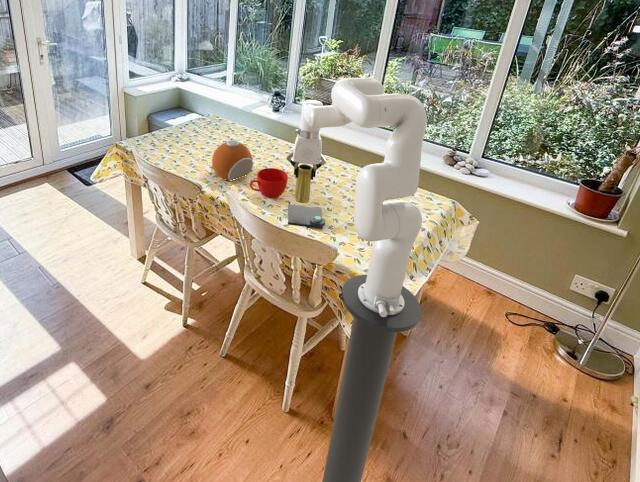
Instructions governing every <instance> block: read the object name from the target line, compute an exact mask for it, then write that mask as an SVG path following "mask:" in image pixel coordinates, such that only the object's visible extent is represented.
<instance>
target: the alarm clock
mask: <svg viewBox="0 0 640 482" xmlns="http://www.w3.org/2000/svg"><path fill="white" fill-rule="evenodd" d="M211 157H212V158H211V166H212V169H213V171H214V172H215V174H216V176H217V177H218V178H220V177H221V178H223V179H222V180H224V179H226V180H225V181H227V180H233V179H236V178H239V177H242V176H244V177H246V176H245V175H247V176H248V175H249V174H250V173H251V171H252V169H253V167H254V160H253V159H254V158H253V156H252V152H251V151H250V149H249V148H248V146H246V145H244V144H243V143H241V142H239V141H238V140H235V139H231V140H227V141H224V142H222V143H220V145H219V144H218V146H217V147H216V148H215V149H214V151H213V153H212V156H211ZM221 178H220V179H221ZM242 178H243V177H242ZM239 179H240V178H239ZM236 180H237V179H236ZM233 181H234V180H233Z"/></svg>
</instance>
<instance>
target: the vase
mask: <svg viewBox="0 0 640 482" xmlns="http://www.w3.org/2000/svg"><path fill="white" fill-rule="evenodd" d="M312 168H313V166H312V165H311V164H304V163H300V164H299V165H298V176H297V178H296V182H295V189H294V195H293V200H294V201H295V202H296V203H299V204H307V203H309V202H310V201H311V199H310V197H311V185H312V183H311V182H312V180H311V175H312Z"/></svg>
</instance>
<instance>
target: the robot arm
mask: <svg viewBox="0 0 640 482" xmlns="http://www.w3.org/2000/svg"><path fill="white" fill-rule="evenodd" d="M330 97H331V101H332V105H324V104H323V102H322V101H320V100H316V99H306V100H304V101H303V102H302V104H301V111H300V112H301V113H300V121H299V128H295V131H294V132H295V134H297V135H296V137H295V141H294V146H293V151H291V152H290V153H289V154H288V155H287V156H286V160H287V161H288V162H289V163H290V165H291V166H292V167H293V169H294V170H293V176H294V177H295V179H297V176H298V166H299V165H300V164H307V165H312V175H311V181H314V178H316V173H317V171H318V170H319V169H320V168H322V166H324V165H326V164H327V160H326V158H325V157H324V156H323V154H322V146H323V145H322V144H323V143H322V142H323V141H322V137H321V136H320V135H321V129H322V128H323V129H324V128H337V127H338V128H339V127H344V126H346V125H349V124H350V123H352V122H353V124H355V125H356V126H358V127H360V128H365V129H367V128H368V129H372V128H373V129H374V128H385V127H386V128H387V127H394V130H393V131H392V132H391V134H390V135H389V137H388V139H387V141H386V144H385V148H384V149H385V150H384V159H383V161H382V162H379V163H378V162H377V163H371V164H367V165H365V166H363V167H362V168H361V169H360V170H359V171H358V173H357V176H356V178H355V184H354V185H355V186H354V203H353V226H354V230H355V233H356V234H357V236H358V237H359V238H360V239H362V240H363V241H365V242H373V243H372V247H371V248H372V249H371V253H370V258H369V263H368V268H367V273H366V275H367V278H366V283H364V284H362V285H361V286H360V287H359V289H358V297H359V299H360V301H361V302H362V303H363V305H365V306H366V307H367V308H369V309H370V310H372V311H374V312H376V313H379V314H380V316H381V317H386V316H387V315H395V314H398V313H400V312H401V311H402V310H403V308H404V304H405V302H404V299H403V297H402V295H401V290H402V286H403V287H404V281H405V277H406V274H407V273H406V272H407V270H408V269H407V267H408V264H409V260H410V256H411V252H412V248H413V246H414V243H415V242H416V239H417V237H418V236H419V233H420V232H421V231H420V230H421V228H422V224H423V216H422V212H421V210H420V209H419V207H418V206H417V205H415V204H414V203H413V202H411V201H408V200H400V199H404V198H409V197H412V196H414V195H415V194H416V193H417V191H418V188H419V184H420V173H421V160H422V148H423V144H424V143H423V142H424V138H425V135H426V129H427V125H428V115H427V111H426V108H425V106H424V104H423V103H422V101H420V99H419V98H417V97H416V96H414V95H411V94H406V93H385V88H384V86H383V84H382V83H381V82H380V80H378V79H375V78H372V77H348V78H347V77H345V78H341V79H339V80H338V81H336V82H335V83H334V85H333V86H332V88H331V93H330Z"/></svg>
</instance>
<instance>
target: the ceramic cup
mask: <svg viewBox="0 0 640 482" xmlns="http://www.w3.org/2000/svg"><path fill="white" fill-rule="evenodd" d="M288 179H289V176H288V173H287V172H286V171H284V170H282V169H280V168H274V167H267V168H266V167H265V168H262V169H259V171H257V173H256V179H253V180H251V181H250V182H249V188H250V189H251V190H252V191H255V192H260V193H261V195H262V196H264V198H266V199H278V198H279V197H281V196H282V195H283V194H284V192H285V190H286V188H287V185H288ZM254 183H257V187H258V188H254V187H253V184H254Z"/></svg>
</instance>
